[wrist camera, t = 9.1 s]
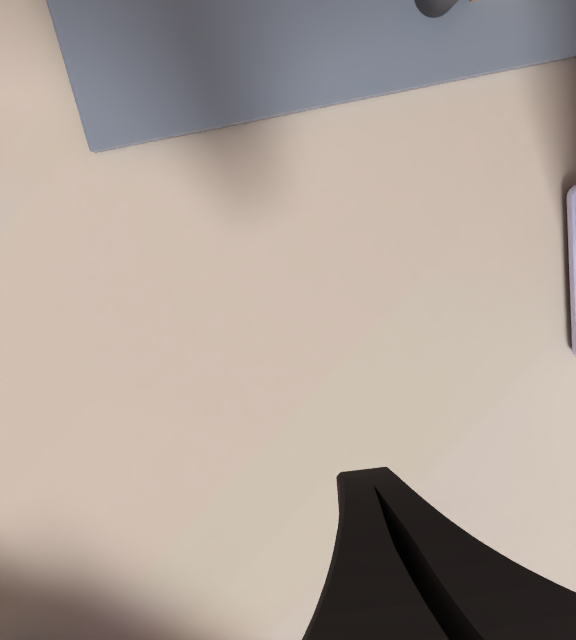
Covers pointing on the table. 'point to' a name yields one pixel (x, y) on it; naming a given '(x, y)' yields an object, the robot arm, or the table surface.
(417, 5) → the walnut fence section
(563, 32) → the board
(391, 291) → the table surface
